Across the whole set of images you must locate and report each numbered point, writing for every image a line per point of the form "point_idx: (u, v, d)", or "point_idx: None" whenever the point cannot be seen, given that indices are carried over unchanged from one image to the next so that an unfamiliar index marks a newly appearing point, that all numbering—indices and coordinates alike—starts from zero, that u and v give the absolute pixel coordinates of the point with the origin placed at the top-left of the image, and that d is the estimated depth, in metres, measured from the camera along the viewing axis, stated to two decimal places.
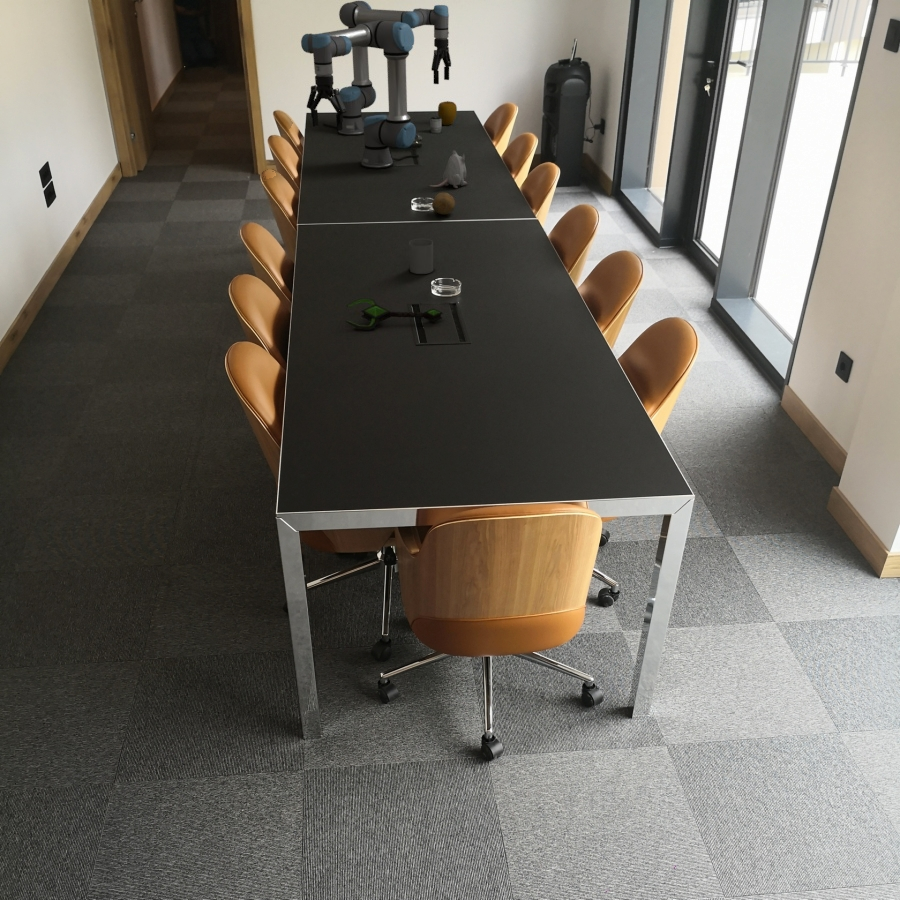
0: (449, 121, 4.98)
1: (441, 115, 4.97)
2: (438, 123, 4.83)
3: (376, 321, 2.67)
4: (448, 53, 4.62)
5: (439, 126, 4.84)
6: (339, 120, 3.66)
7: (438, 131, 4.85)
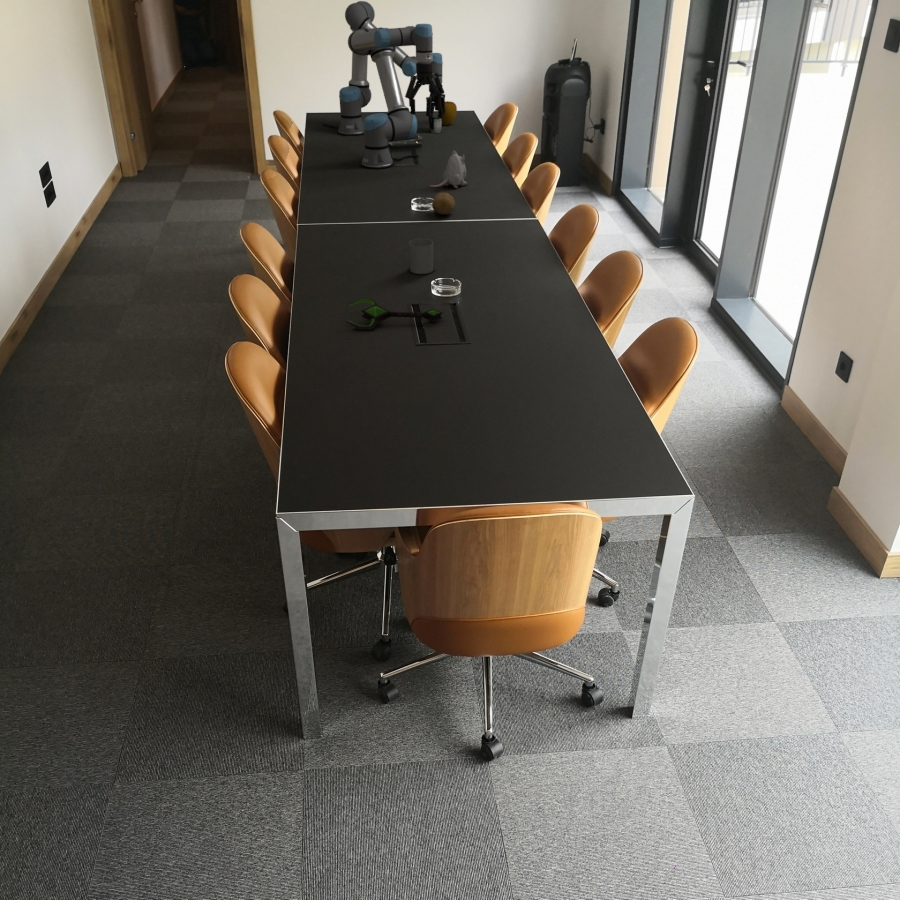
0: (449, 121, 4.98)
1: None
2: (438, 123, 4.83)
3: (376, 321, 2.67)
4: (443, 100, 4.82)
5: (439, 126, 4.84)
6: (439, 101, 4.00)
7: (438, 131, 4.85)
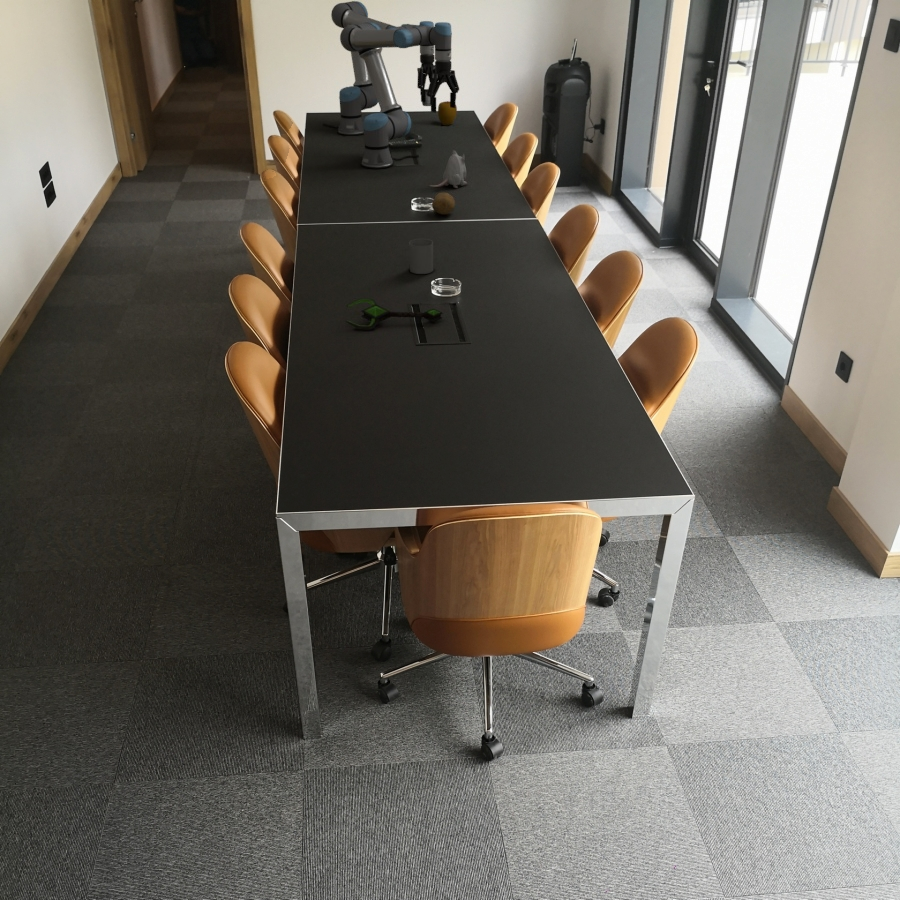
0: (449, 121, 4.98)
1: (441, 115, 4.97)
2: None
3: (376, 321, 2.67)
4: (435, 71, 4.61)
5: None
6: None
7: None
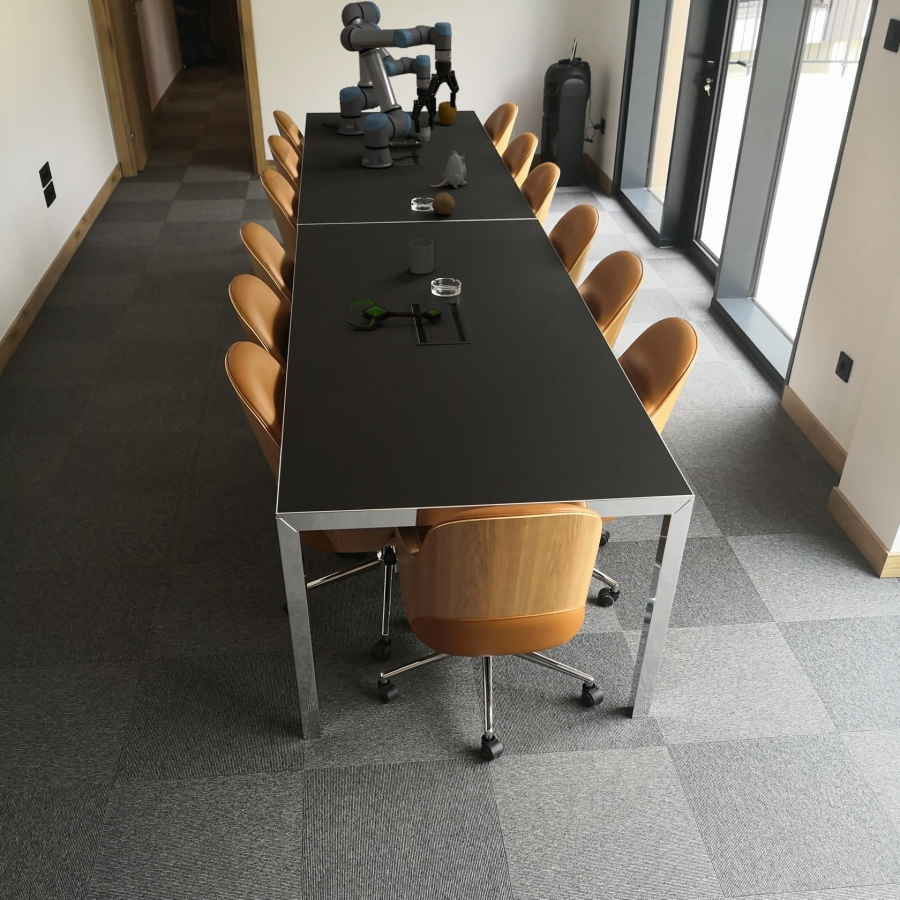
0: (449, 121, 4.98)
1: (441, 115, 4.97)
2: (427, 132, 4.66)
3: (376, 321, 2.67)
4: None
5: (428, 134, 4.67)
6: None
7: (427, 140, 4.69)
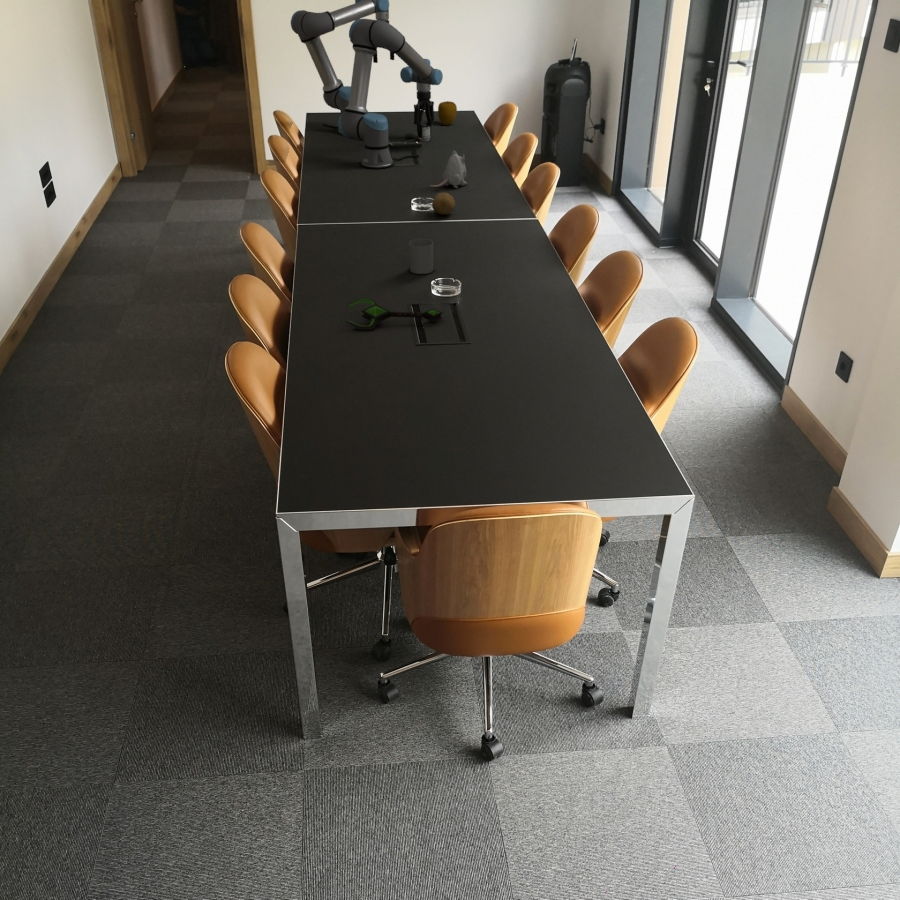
0: (449, 121, 4.98)
1: (441, 115, 4.97)
2: (427, 132, 4.66)
3: (376, 321, 2.67)
4: None
5: (428, 134, 4.67)
6: (430, 127, 4.70)
7: (427, 139, 4.69)
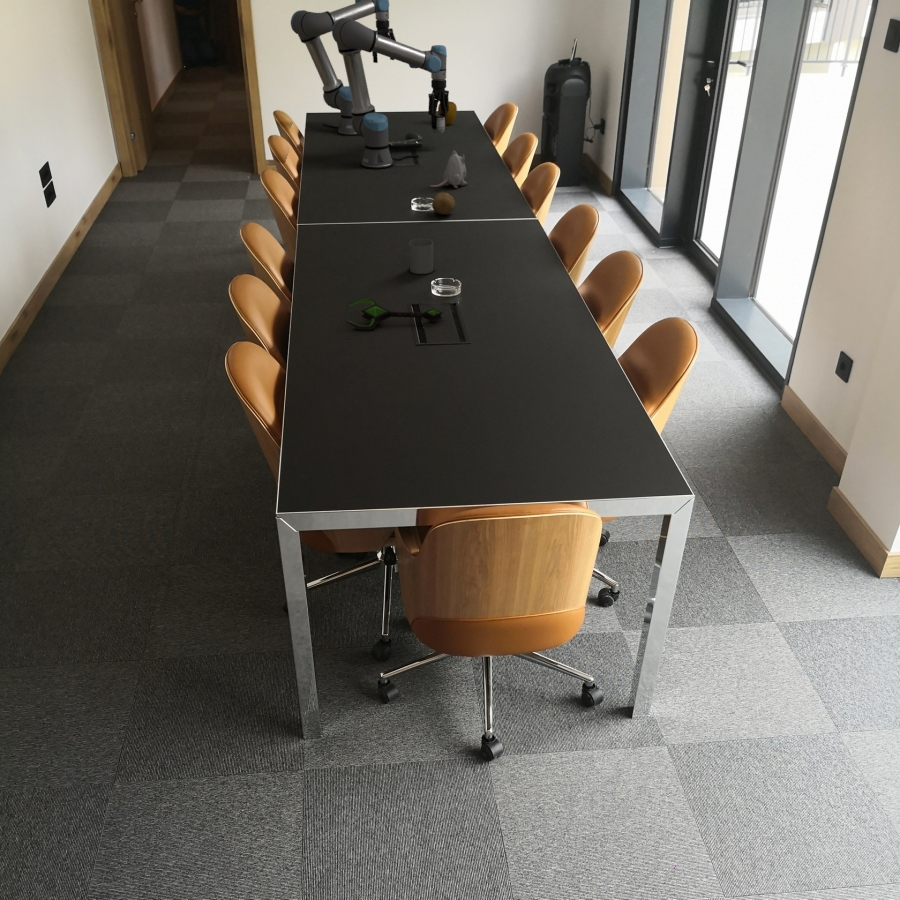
0: (449, 121, 4.98)
1: None
2: (442, 122, 4.42)
3: (376, 321, 2.67)
4: (392, 34, 4.90)
5: (442, 125, 4.43)
6: (445, 118, 4.46)
7: (441, 131, 4.45)
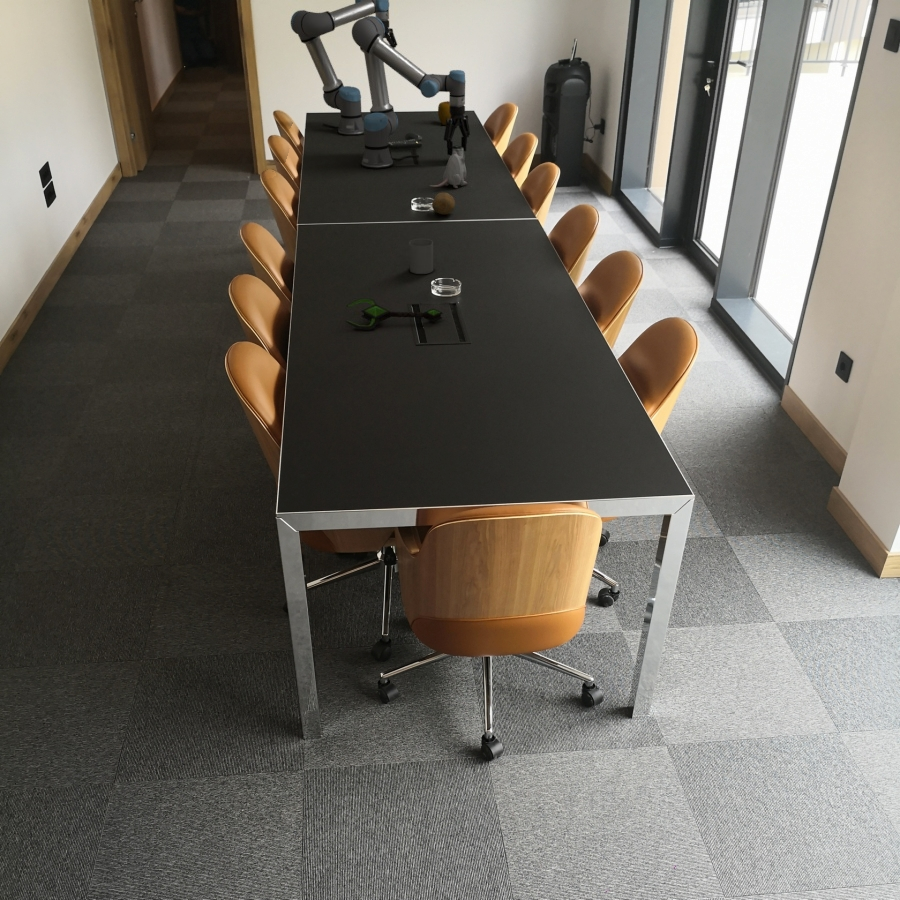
0: None
1: (441, 115, 4.97)
2: (460, 153, 4.27)
3: (376, 321, 2.67)
4: (392, 34, 4.90)
5: (461, 156, 4.28)
6: (466, 142, 4.31)
7: None
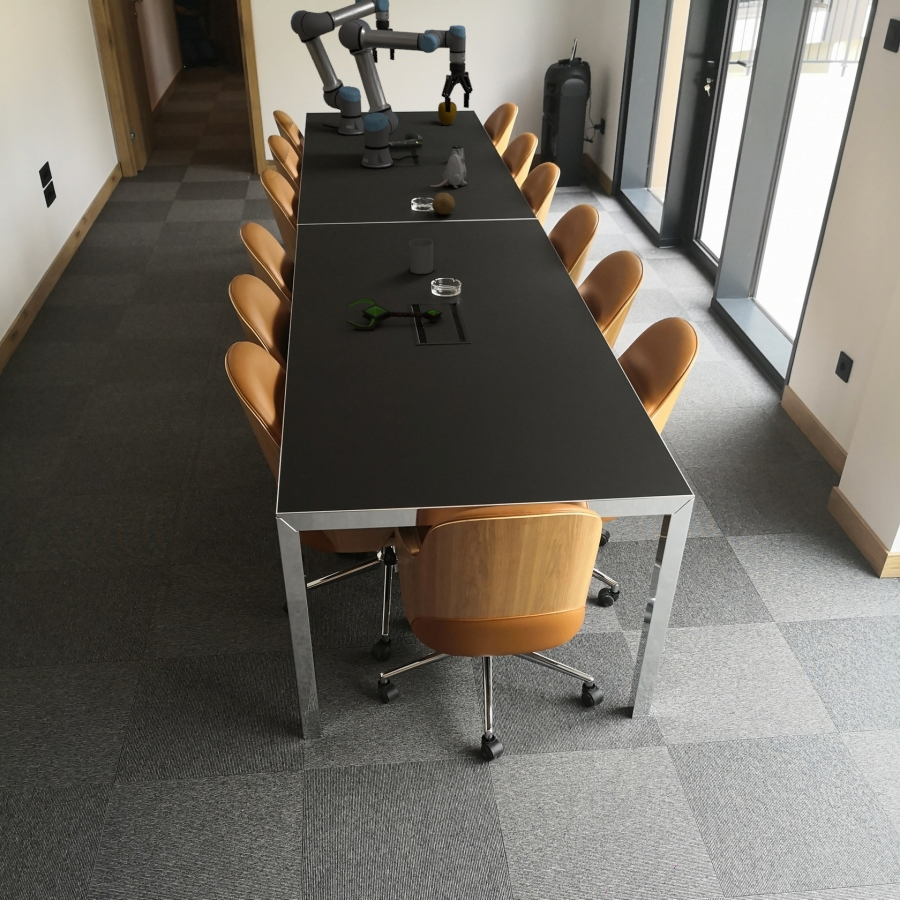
0: (449, 121, 4.98)
1: (441, 115, 4.97)
2: (460, 153, 4.27)
3: (376, 321, 2.67)
4: None
5: (461, 156, 4.28)
6: (468, 98, 4.21)
7: None
